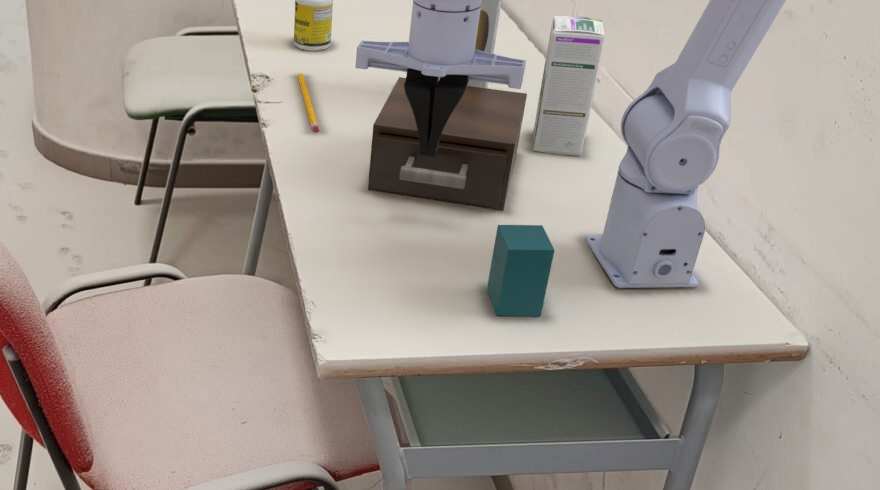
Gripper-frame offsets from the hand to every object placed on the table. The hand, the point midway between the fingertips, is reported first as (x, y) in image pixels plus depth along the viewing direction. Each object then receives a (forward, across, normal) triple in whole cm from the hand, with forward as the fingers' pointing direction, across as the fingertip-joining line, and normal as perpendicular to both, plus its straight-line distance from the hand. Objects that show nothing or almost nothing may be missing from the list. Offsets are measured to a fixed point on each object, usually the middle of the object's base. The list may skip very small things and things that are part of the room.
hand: (428, 151), depth 93 cm
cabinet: (+10, 0, +18) cm, 21 cm away
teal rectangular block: (+10, +10, -7) cm, 16 cm away
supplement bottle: (+11, -25, +55) cm, 61 cm away
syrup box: (+11, +12, +31) cm, 34 cm away
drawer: (+10, 0, +14) cm, 17 cm away
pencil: (+11, -20, +33) cm, 40 cm away
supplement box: (+11, -3, +40) cm, 42 cm away
